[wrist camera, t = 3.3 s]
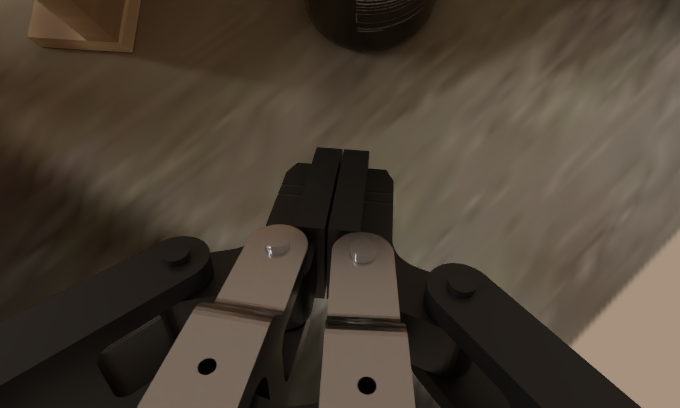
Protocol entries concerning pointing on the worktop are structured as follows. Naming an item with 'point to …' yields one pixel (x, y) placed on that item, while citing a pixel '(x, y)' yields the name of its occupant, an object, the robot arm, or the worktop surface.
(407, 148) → the worktop surface
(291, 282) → the robot arm
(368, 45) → the supplement bottle
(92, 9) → the oak screen
